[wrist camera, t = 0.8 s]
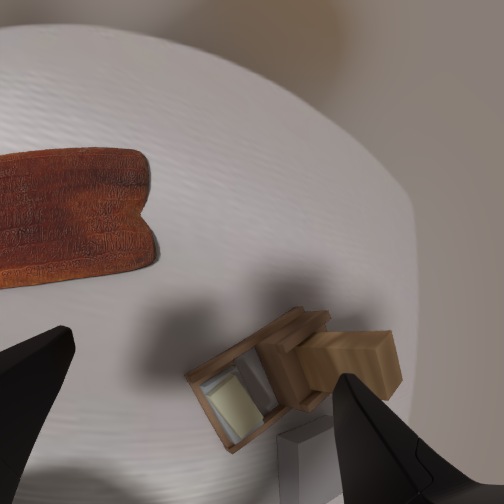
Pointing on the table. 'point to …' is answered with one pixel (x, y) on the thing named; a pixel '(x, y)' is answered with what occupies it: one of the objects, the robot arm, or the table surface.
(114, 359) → the table surface
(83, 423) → the table surface
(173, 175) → the table surface
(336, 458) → the plinth
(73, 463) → the table surface
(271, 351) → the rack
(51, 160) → the wooden tablet
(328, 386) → the oak block
